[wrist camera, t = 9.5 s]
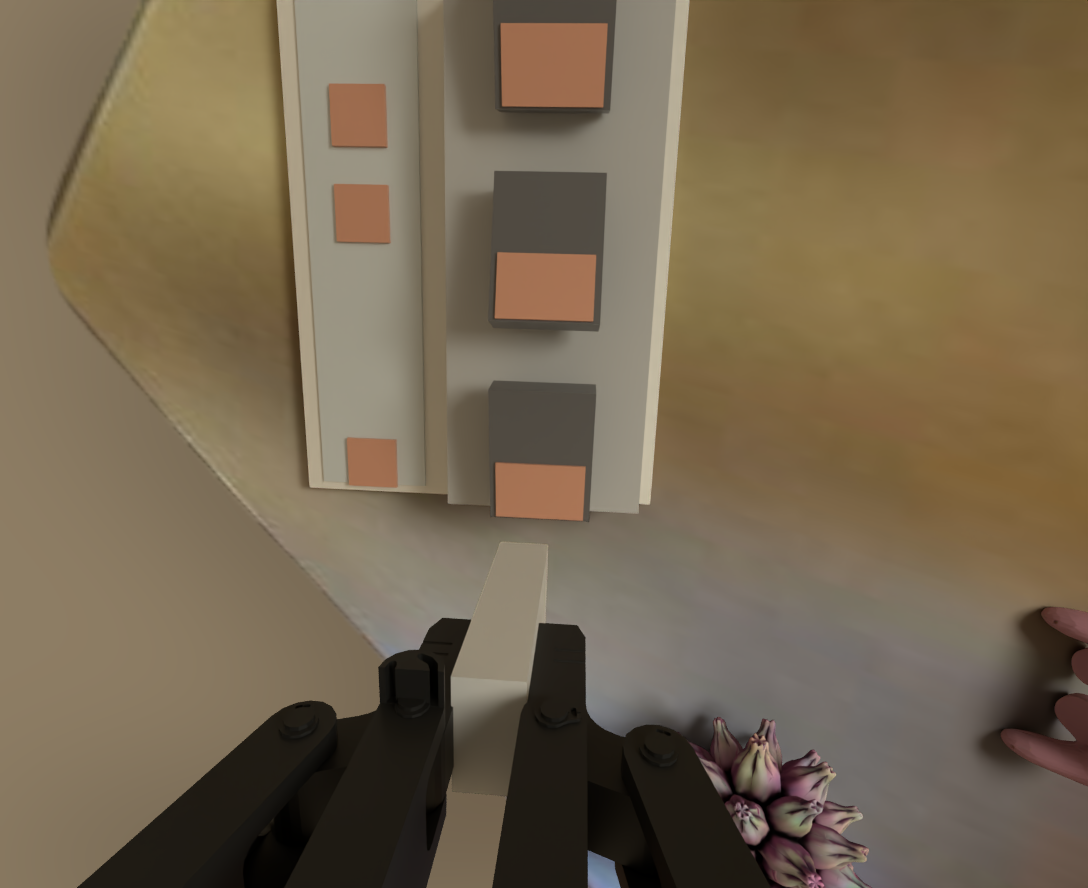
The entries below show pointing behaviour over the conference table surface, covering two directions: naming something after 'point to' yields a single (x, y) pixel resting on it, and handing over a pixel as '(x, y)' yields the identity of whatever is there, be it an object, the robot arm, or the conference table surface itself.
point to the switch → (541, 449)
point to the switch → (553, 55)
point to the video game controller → (1061, 710)
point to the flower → (784, 810)
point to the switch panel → (463, 240)
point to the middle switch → (547, 250)
